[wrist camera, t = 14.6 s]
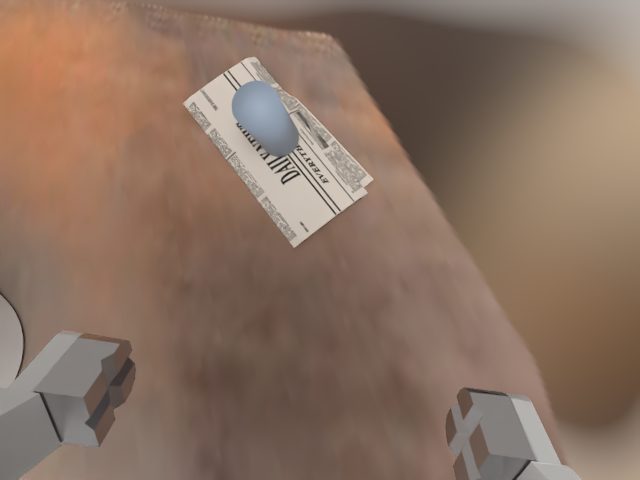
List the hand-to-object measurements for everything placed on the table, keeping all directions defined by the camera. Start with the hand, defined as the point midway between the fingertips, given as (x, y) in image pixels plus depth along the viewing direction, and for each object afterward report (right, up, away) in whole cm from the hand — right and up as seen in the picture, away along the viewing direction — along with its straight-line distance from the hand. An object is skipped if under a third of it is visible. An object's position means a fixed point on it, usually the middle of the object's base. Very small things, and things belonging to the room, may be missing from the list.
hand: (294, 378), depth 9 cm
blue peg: (-4, +15, +33) cm, 37 cm away
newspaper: (-4, +15, +36) cm, 39 cm away
